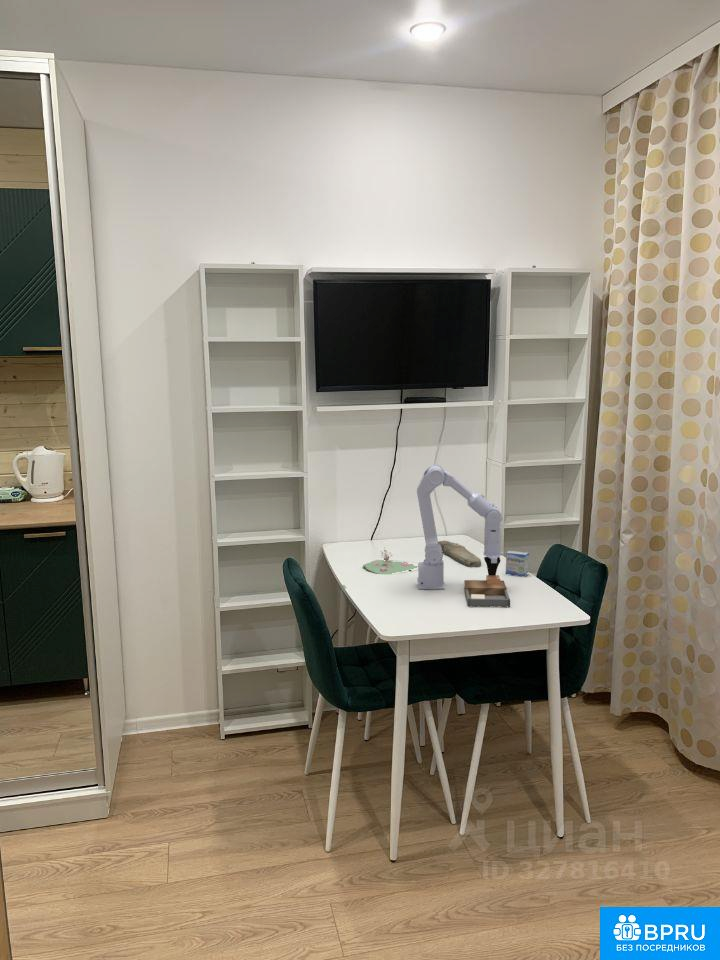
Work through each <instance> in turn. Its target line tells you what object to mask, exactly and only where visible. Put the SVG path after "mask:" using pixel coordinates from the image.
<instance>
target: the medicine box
mask: <svg viewBox="0 0 720 960" xmlns="http://www.w3.org/2000/svg"><path fill="white" fill-rule="evenodd" d="M529 567H530V552H526V551H525V552H523V551H518V550H516V551H515V550H508V551H507V552H506V553H505V575H506V574H511V575H510V576H514V575H518V576H517V577H522V576H526V575H527V576H528V575H529V574H527V573H529V572H530V571H529V570H530V569H529ZM527 576H526V577H527Z"/></svg>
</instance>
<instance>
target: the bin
mask: <svg viewBox="0 0 720 960" xmlns="http://www.w3.org/2000/svg"><path fill="white" fill-rule="evenodd" d="M465 598H466V599H465V600H466V605H467V607H470V606H472V607H470V608H473V606H474V607H477V606H480V607H484V608H486V607H485V606H488V607H487V608H491V607H490V606H493V607H492V608H498V607H497V606H501V607H500V608H511V599H510V596H509V592H508V590H504V596H486V595H485V599H471V595H469V591H468V589H466V595H465ZM494 606H495V607H494ZM507 606H508V607H507Z"/></svg>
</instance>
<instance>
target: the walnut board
mask: <svg viewBox="0 0 720 960" xmlns="http://www.w3.org/2000/svg"><path fill="white" fill-rule="evenodd" d="M463 586H464V587H463V588H464V589H463V590H464V594H466V589H468V591H469V595H471V594H481V595H486V596H504V590H507V588H508V587H507V585H506V583H505V580H503V579H502V580H501V579H500V584H487V582H486V579H483V580H479V579H467V580H466V579H464V585H463ZM507 591H508V590H507Z"/></svg>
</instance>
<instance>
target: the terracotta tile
mask: <svg viewBox="0 0 720 960" xmlns="http://www.w3.org/2000/svg"><path fill="white" fill-rule="evenodd" d="M485 578H486V579H485V580H486V582H487V584H500V580H501V577H500V575H499V574H498V575H497V574H496V575H487V574H486V577H485Z"/></svg>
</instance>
